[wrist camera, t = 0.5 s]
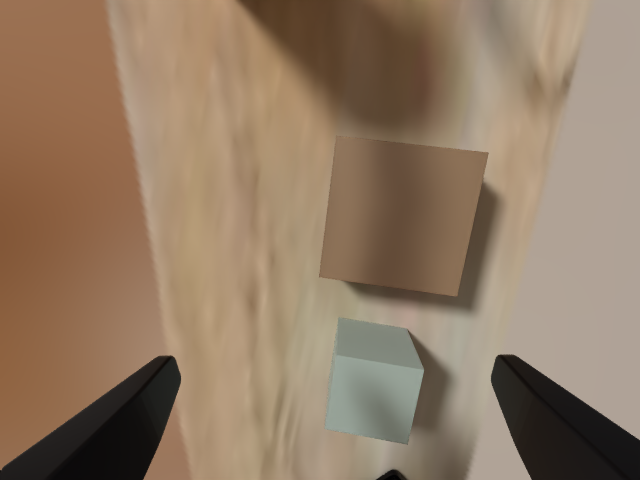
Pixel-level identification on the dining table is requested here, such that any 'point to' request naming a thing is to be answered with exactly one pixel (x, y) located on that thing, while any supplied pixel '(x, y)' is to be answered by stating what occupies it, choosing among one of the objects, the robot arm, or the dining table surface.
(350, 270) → the tan square slab
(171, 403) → the robot arm
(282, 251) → the dining table surface
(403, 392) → the sage cube
